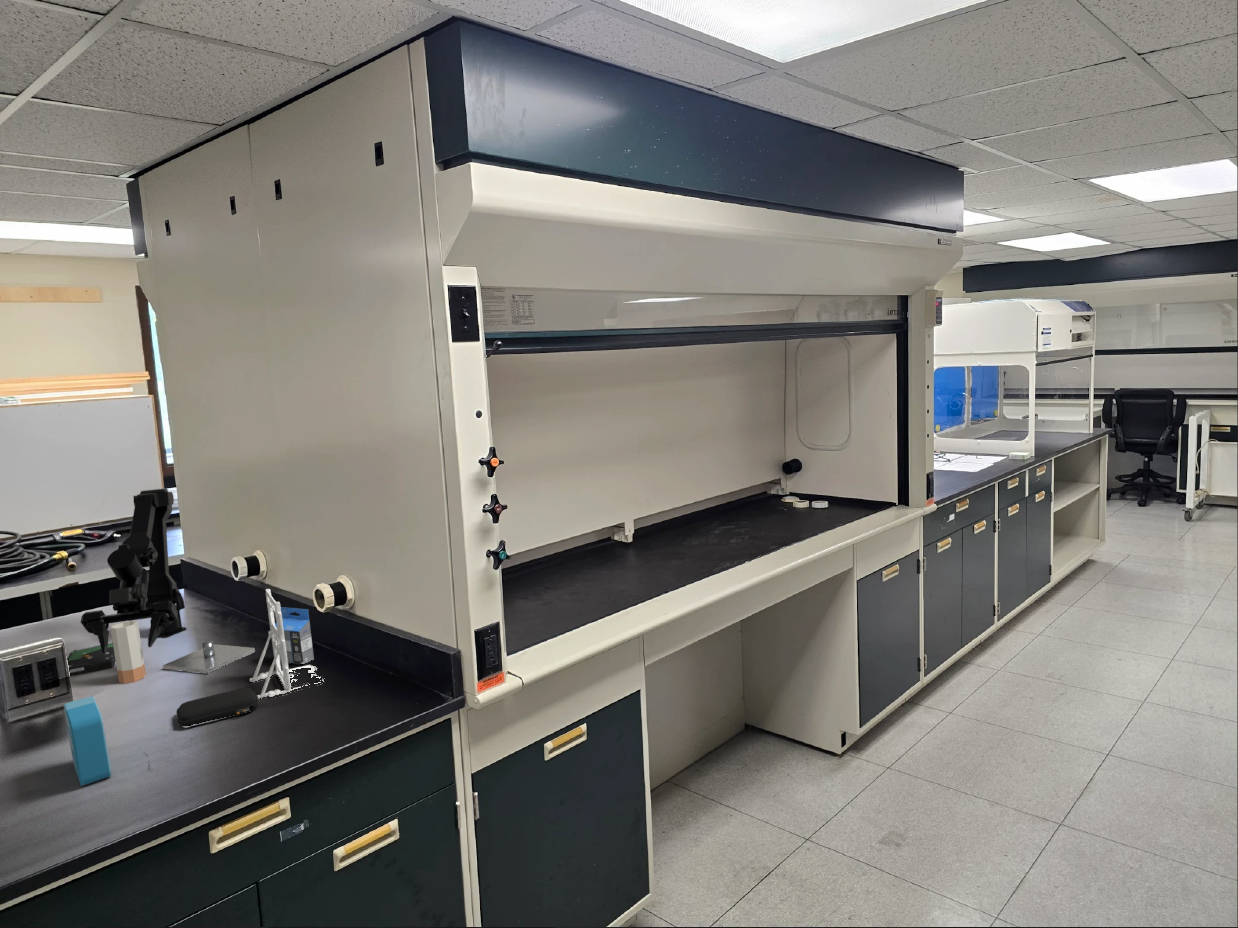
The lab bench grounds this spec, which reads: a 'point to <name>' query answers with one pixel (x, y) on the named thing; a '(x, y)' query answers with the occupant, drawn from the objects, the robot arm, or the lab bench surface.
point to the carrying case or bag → (217, 706)
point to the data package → (87, 740)
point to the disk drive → (91, 660)
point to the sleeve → (128, 651)
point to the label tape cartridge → (297, 635)
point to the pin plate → (209, 658)
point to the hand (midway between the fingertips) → (126, 649)
